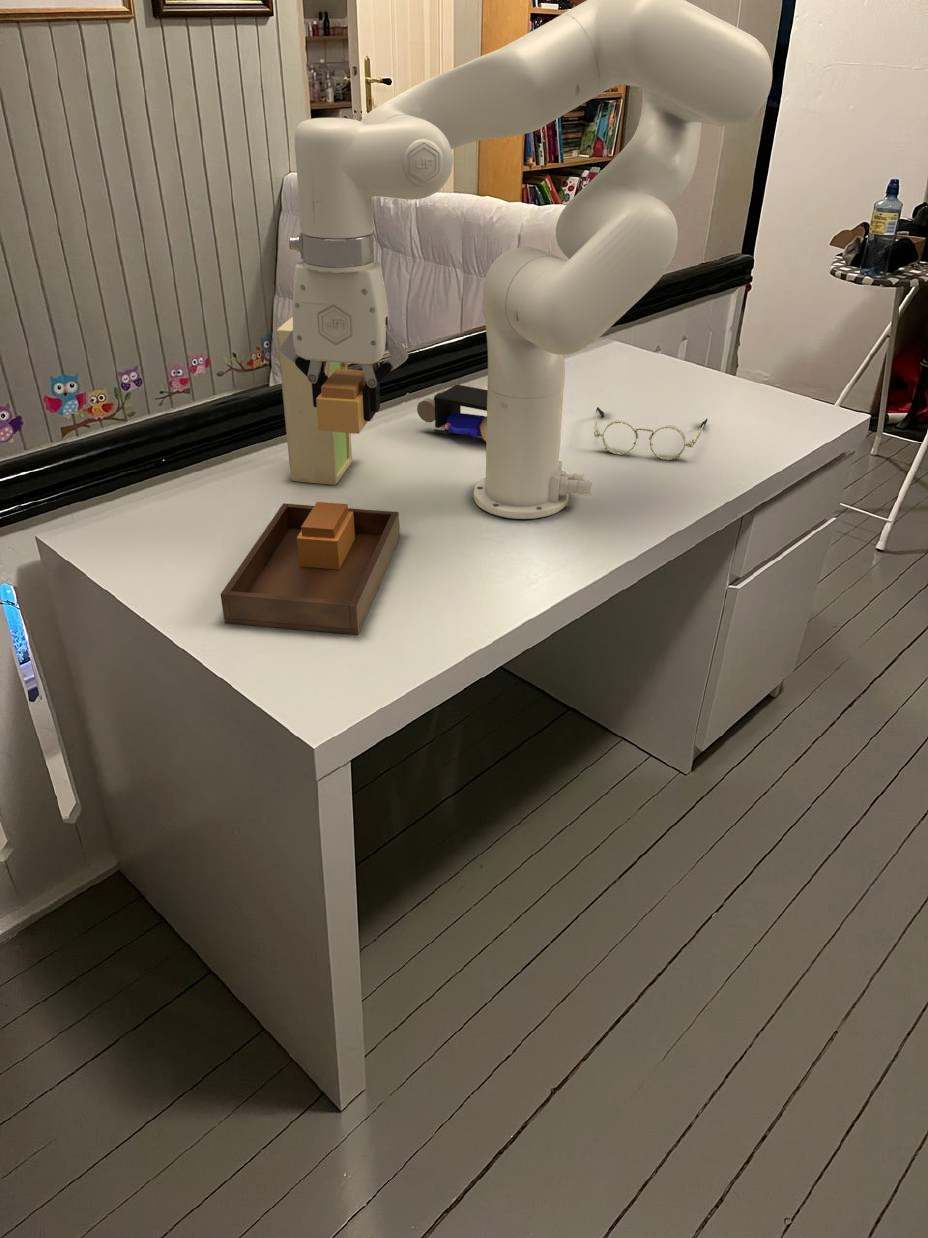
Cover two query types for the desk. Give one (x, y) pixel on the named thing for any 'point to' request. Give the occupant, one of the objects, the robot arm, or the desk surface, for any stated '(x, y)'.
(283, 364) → the toy refrigerator
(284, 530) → the brown wooden tray
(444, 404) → the figurine character
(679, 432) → the round wire eyeglasses
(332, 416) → the stepped wooden block
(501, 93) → the robot arm
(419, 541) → the desk surface
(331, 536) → the orange stepped block
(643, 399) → the desk surface
